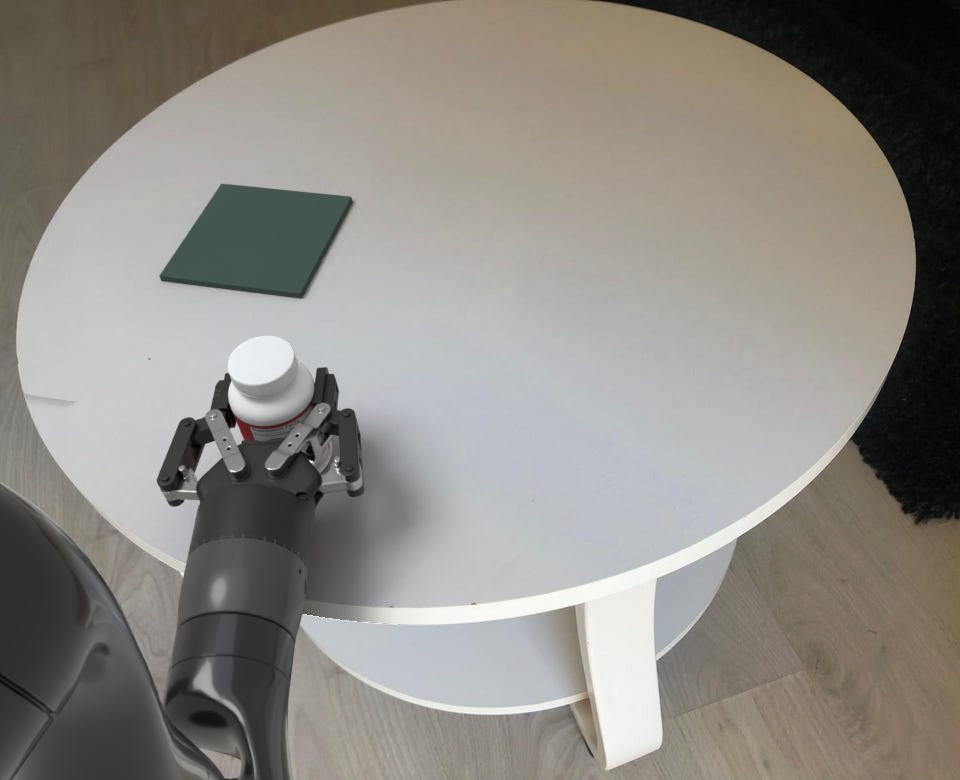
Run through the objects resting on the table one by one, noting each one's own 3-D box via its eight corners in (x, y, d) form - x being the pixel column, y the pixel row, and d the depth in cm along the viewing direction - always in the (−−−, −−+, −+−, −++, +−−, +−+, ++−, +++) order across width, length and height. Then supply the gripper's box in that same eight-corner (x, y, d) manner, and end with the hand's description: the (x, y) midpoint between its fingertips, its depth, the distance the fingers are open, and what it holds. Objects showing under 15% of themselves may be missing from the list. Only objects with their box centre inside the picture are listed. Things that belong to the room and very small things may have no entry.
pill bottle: (263, 426, 79) (226, 327, 71) (339, 425, 78) (311, 326, 70) (247, 490, 75) (207, 393, 67) (327, 489, 74) (296, 392, 66)
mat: (161, 280, 92) (158, 275, 91) (222, 188, 101) (221, 183, 100) (301, 298, 89) (300, 293, 88) (352, 201, 97) (351, 196, 97)
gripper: (349, 535, 59) (367, 335, 70) (113, 548, 60) (167, 348, 71) (369, 599, 65) (383, 404, 76) (153, 609, 65) (198, 415, 77)
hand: (278, 377), depth 73 cm, fingers closed on pill bottle, 6 cm apart
